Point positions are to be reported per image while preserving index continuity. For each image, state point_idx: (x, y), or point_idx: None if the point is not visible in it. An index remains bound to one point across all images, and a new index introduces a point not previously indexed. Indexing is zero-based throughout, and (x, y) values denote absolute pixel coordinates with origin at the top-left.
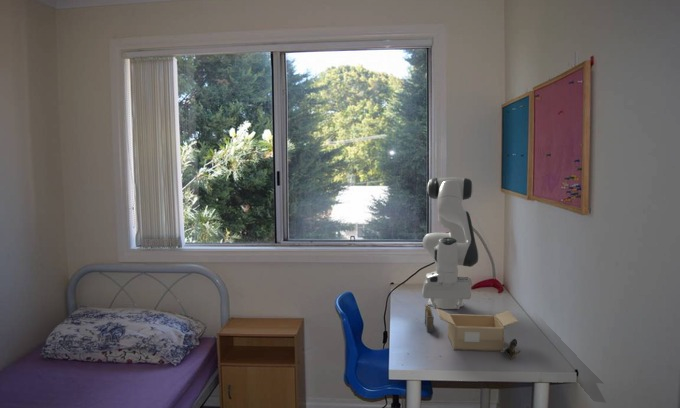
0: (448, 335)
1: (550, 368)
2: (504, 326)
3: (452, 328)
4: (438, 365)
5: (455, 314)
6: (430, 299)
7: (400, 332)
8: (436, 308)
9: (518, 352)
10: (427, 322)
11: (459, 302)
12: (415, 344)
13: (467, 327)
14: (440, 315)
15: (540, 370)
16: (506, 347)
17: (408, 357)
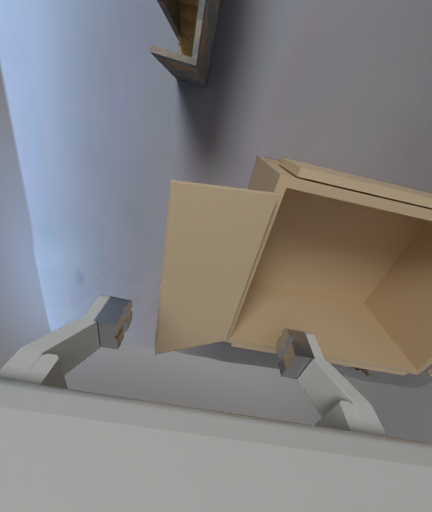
0: (253, 174)
1: (388, 375)
2: (430, 372)
3: None
4: (153, 337)
5: (329, 187)
6: (22, 357)
7: (29, 61)
8: (171, 182)
9: (361, 369)
10: (172, 23)
11: (319, 405)
12: (105, 220)
13: (273, 351)
14: (163, 320)
15: (359, 377)
16: (344, 366)
17: (82, 297)
